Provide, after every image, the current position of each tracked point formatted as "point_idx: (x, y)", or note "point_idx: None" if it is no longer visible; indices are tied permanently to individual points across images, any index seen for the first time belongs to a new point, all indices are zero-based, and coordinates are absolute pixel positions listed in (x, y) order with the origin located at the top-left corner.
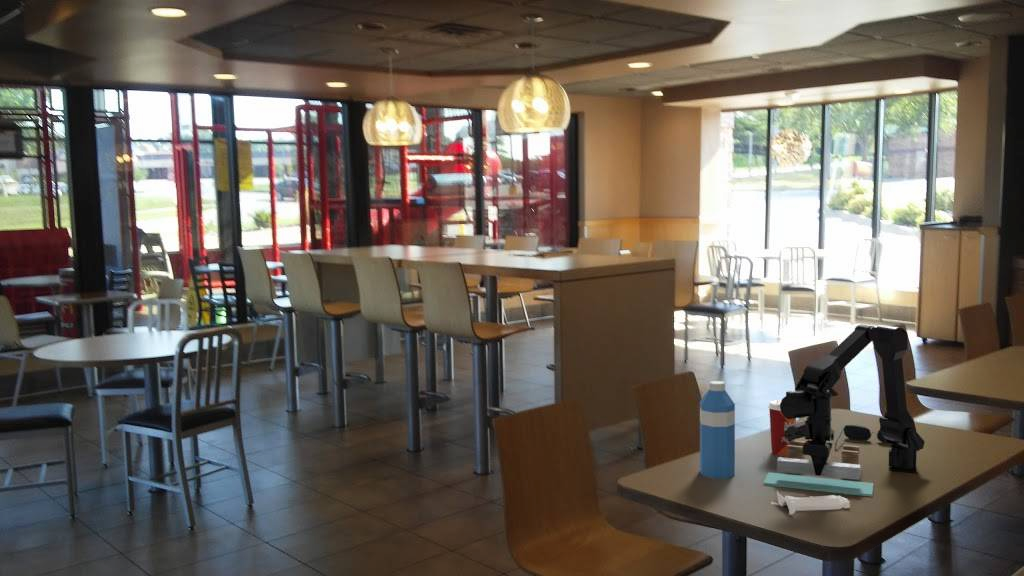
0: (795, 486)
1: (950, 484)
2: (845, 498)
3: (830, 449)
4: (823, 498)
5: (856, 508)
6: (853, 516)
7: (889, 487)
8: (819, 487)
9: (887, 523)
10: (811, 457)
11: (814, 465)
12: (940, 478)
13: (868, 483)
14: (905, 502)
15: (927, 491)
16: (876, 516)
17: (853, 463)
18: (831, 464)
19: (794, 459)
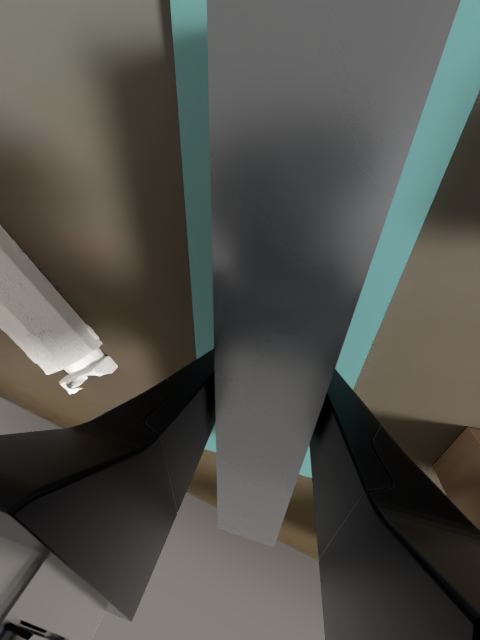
0: (185, 203)
1: None
2: (67, 390)
3: (324, 630)
4: (7, 331)
5: (96, 392)
6: (40, 375)
7: (304, 492)
8: (209, 323)
9: (53, 421)
10: (86, 422)
11: (179, 377)
12: None
13: (310, 468)
14: (195, 480)
15: (289, 530)
16: (75, 415)
17: (476, 525)
18: (240, 466)
19: (343, 180)
